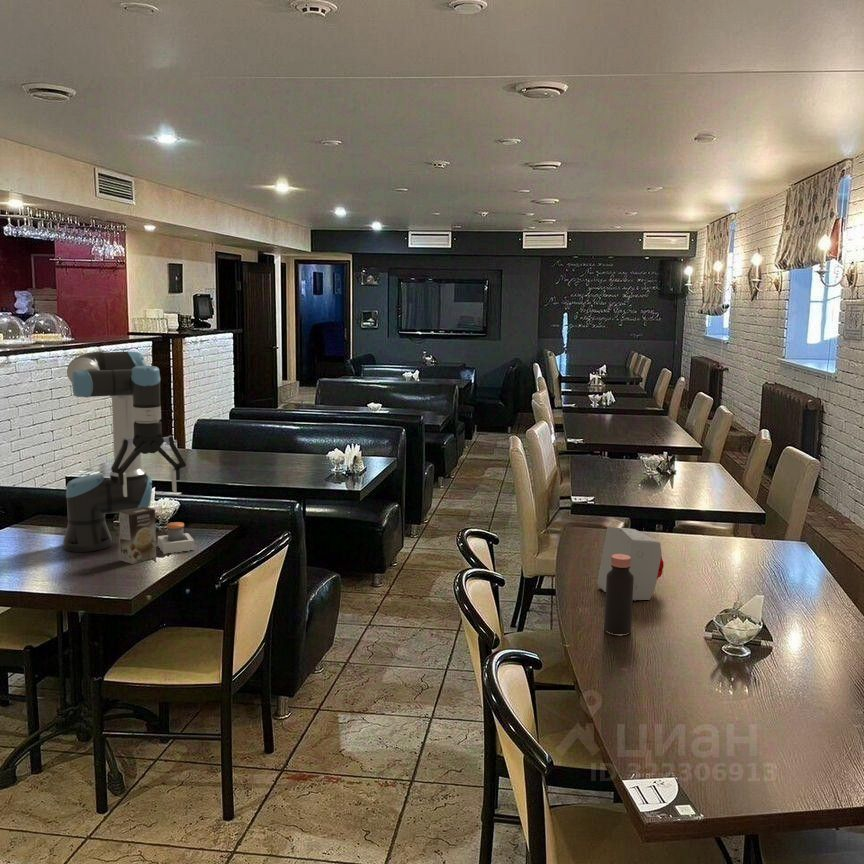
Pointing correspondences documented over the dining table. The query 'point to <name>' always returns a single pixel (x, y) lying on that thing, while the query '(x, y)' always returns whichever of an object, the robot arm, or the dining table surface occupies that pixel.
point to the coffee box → (137, 535)
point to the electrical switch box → (633, 559)
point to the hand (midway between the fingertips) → (150, 493)
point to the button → (175, 531)
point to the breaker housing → (175, 544)
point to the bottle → (619, 595)
